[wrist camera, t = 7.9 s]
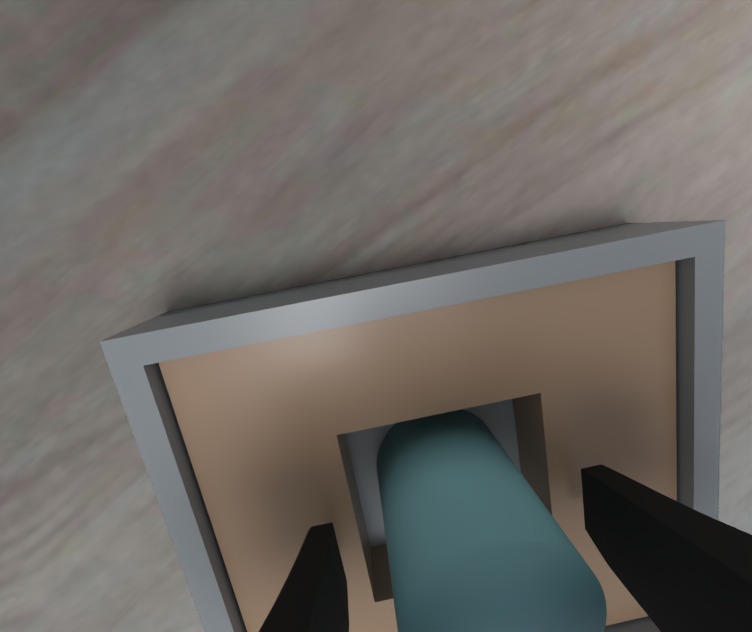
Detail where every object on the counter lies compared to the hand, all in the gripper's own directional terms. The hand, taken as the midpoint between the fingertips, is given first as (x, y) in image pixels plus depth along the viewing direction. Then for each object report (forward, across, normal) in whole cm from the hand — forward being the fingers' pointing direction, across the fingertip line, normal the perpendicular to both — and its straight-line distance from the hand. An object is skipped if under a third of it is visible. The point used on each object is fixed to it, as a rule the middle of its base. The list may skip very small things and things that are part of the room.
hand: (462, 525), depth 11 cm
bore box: (+4, 0, 0) cm, 4 cm away
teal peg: (+3, 0, 0) cm, 3 cm away
